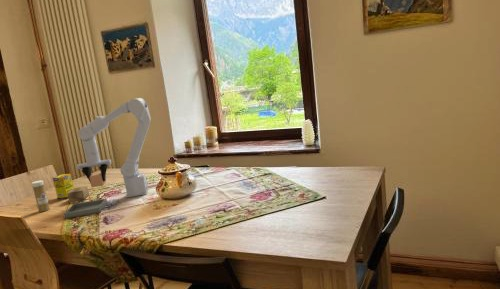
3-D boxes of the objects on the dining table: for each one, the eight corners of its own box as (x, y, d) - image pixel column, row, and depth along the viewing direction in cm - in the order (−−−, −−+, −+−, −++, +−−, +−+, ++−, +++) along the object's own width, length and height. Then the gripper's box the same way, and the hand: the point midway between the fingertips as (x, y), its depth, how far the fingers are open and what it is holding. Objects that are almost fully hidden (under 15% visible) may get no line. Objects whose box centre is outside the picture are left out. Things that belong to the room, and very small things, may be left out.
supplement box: (68, 198, 186) (62, 177, 184) (57, 199, 187) (52, 178, 185) (75, 194, 191) (70, 173, 189) (65, 195, 193) (60, 174, 191)
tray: (107, 203, 169) (106, 198, 169) (100, 212, 157) (99, 207, 157) (74, 208, 168) (73, 204, 167) (64, 218, 156) (63, 213, 156)
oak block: (89, 196, 186) (87, 186, 185) (85, 200, 179) (82, 190, 178) (74, 198, 185) (72, 188, 184) (69, 203, 178) (67, 193, 177)
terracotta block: (105, 182, 177) (103, 172, 176) (103, 185, 173) (100, 174, 172) (94, 184, 177) (92, 173, 176) (91, 187, 172) (89, 176, 171)
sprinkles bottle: (44, 212, 169) (36, 182, 167) (36, 212, 171) (28, 183, 168) (52, 208, 174) (45, 179, 171) (44, 208, 175) (37, 180, 173)
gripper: (110, 148, 176) (116, 176, 179) (77, 153, 175) (84, 182, 178) (106, 151, 170) (112, 180, 172) (72, 156, 168) (79, 186, 171)
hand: (98, 181), depth 174 cm, fingers closed on terracotta block, 5 cm apart
